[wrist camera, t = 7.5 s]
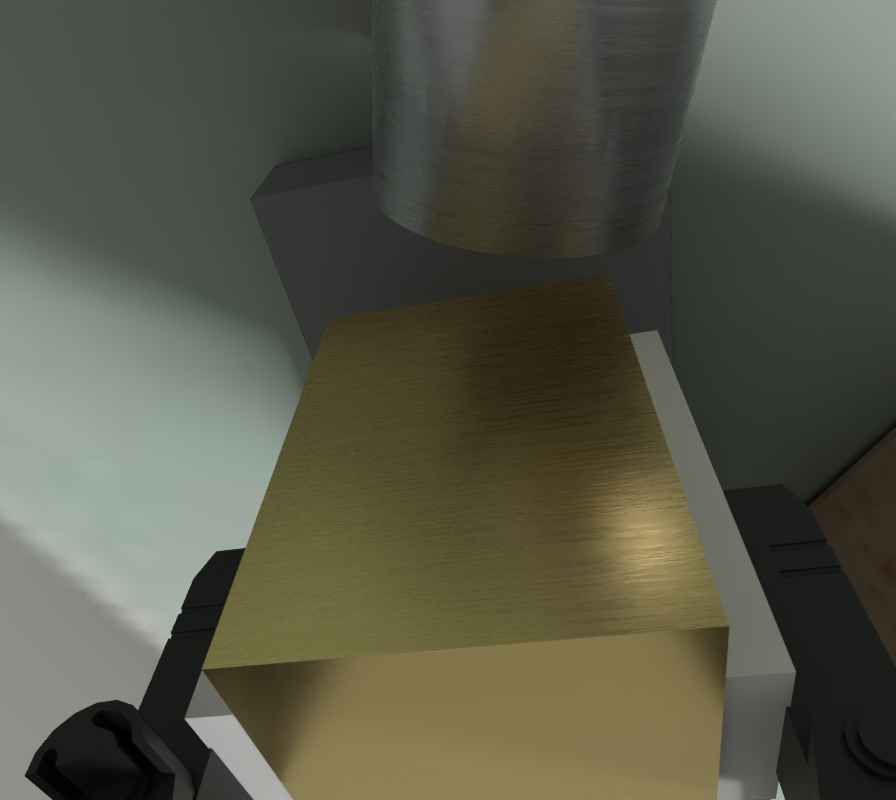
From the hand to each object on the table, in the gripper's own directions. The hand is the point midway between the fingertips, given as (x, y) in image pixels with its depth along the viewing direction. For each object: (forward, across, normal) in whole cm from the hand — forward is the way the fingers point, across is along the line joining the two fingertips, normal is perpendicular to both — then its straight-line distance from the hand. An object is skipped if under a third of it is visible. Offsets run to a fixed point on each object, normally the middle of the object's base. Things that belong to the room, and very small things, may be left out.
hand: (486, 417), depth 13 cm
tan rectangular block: (0, 0, 0) cm, 0 cm away
